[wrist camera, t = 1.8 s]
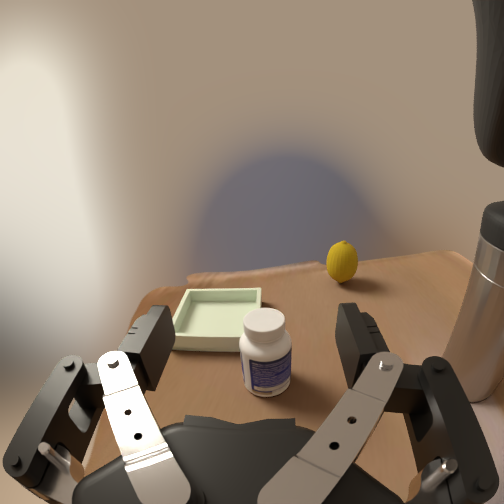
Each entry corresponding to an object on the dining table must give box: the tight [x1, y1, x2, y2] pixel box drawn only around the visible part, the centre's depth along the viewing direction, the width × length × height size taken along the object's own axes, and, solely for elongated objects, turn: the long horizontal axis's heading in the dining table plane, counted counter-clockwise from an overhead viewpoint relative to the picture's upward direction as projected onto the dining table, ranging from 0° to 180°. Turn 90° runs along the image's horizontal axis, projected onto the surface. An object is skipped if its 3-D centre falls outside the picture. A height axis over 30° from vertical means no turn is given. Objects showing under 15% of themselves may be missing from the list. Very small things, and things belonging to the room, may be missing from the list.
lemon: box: [327, 241, 358, 283], centre depth 47 cm, size 6×6×8 cm
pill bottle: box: [239, 308, 292, 397], centre depth 28 cm, size 5×5×9 cm
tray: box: [172, 288, 262, 352], centre depth 40 cm, size 12×12×2 cm
